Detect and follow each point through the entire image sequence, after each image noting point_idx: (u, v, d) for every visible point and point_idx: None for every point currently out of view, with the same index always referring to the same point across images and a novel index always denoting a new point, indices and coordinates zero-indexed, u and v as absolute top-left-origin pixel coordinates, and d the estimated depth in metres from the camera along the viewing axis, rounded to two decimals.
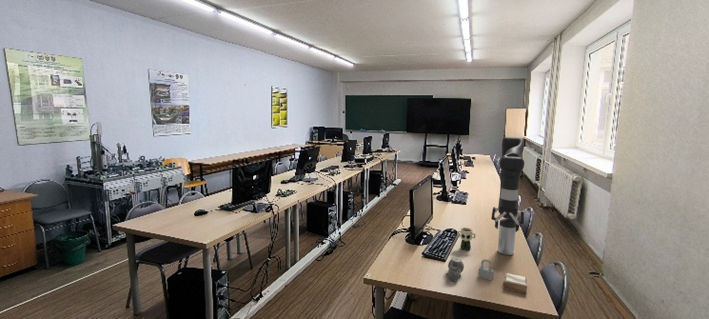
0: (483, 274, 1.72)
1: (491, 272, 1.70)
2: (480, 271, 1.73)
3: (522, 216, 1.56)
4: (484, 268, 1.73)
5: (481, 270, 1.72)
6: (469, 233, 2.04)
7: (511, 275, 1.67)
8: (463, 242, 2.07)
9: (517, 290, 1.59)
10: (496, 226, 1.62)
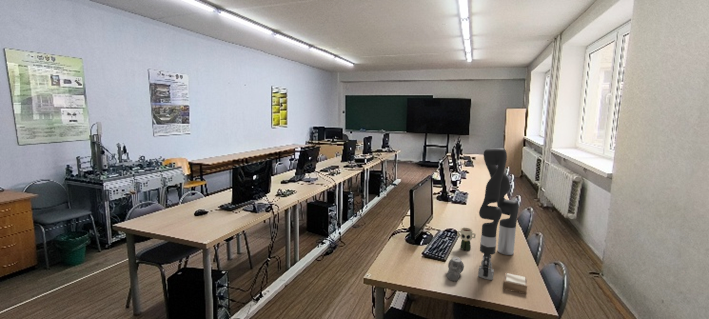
0: None
1: (491, 272, 1.70)
2: (480, 271, 1.73)
3: None
4: None
5: (481, 270, 1.72)
6: (469, 233, 2.04)
7: (511, 275, 1.67)
8: (463, 242, 2.07)
9: (517, 290, 1.59)
10: (487, 274, 1.70)
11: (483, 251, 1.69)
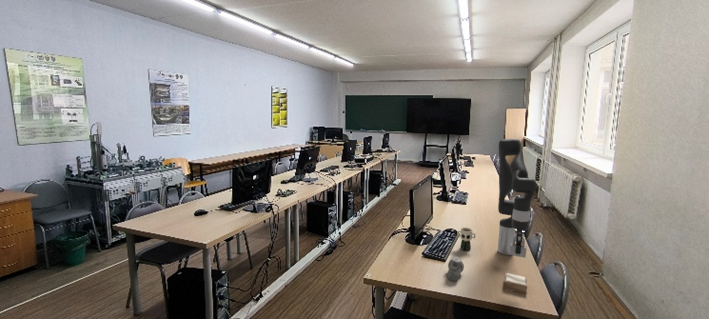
0: None
1: (524, 249, 1.58)
2: (512, 248, 1.61)
3: None
4: None
5: (513, 247, 1.61)
6: (469, 233, 2.04)
7: (511, 275, 1.67)
8: (463, 242, 2.07)
9: (517, 290, 1.59)
10: (520, 251, 1.59)
11: (516, 226, 1.57)
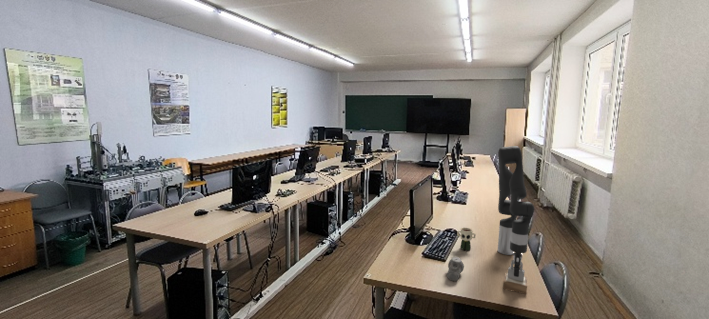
0: (513, 275, 1.62)
1: (522, 273, 1.60)
2: (510, 272, 1.63)
3: None
4: None
5: (511, 271, 1.63)
6: (469, 233, 2.04)
7: None
8: (463, 242, 2.07)
9: (517, 290, 1.59)
10: (518, 274, 1.58)
11: (514, 249, 1.59)
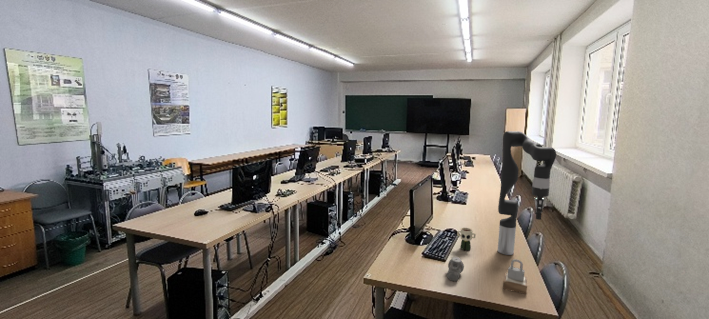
0: (513, 275, 1.62)
1: (522, 273, 1.60)
2: (510, 272, 1.63)
3: None
4: (514, 268, 1.63)
5: (511, 271, 1.63)
6: (469, 233, 2.04)
7: None
8: (463, 242, 2.07)
9: (517, 290, 1.59)
10: None
11: (536, 193, 1.65)
